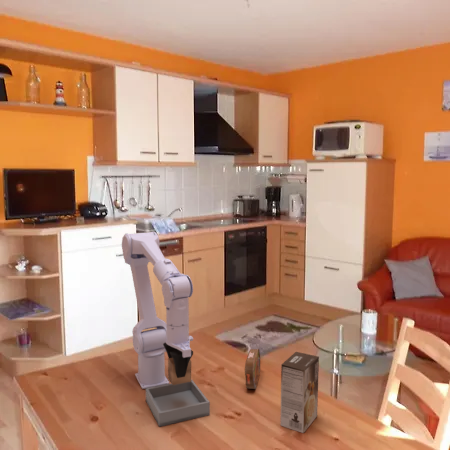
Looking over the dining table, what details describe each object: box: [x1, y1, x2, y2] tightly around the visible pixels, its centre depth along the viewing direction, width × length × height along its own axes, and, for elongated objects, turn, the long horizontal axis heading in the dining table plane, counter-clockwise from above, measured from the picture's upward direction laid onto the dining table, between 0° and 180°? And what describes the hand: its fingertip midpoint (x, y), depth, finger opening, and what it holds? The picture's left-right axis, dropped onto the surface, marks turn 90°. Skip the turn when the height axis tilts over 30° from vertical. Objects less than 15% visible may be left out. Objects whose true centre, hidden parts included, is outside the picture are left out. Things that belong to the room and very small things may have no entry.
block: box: [167, 357, 192, 385], centre depth 117 cm, size 4×5×6 cm
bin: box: [145, 379, 211, 428], centre depth 117 cm, size 13×13×4 cm
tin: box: [244, 348, 261, 390], centre depth 131 cm, size 15×3×8 cm, turn 168°
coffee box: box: [280, 351, 320, 434], centre depth 111 cm, size 9×6×16 cm
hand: (178, 372), depth 117 cm, fingers closed on block, 4 cm apart
